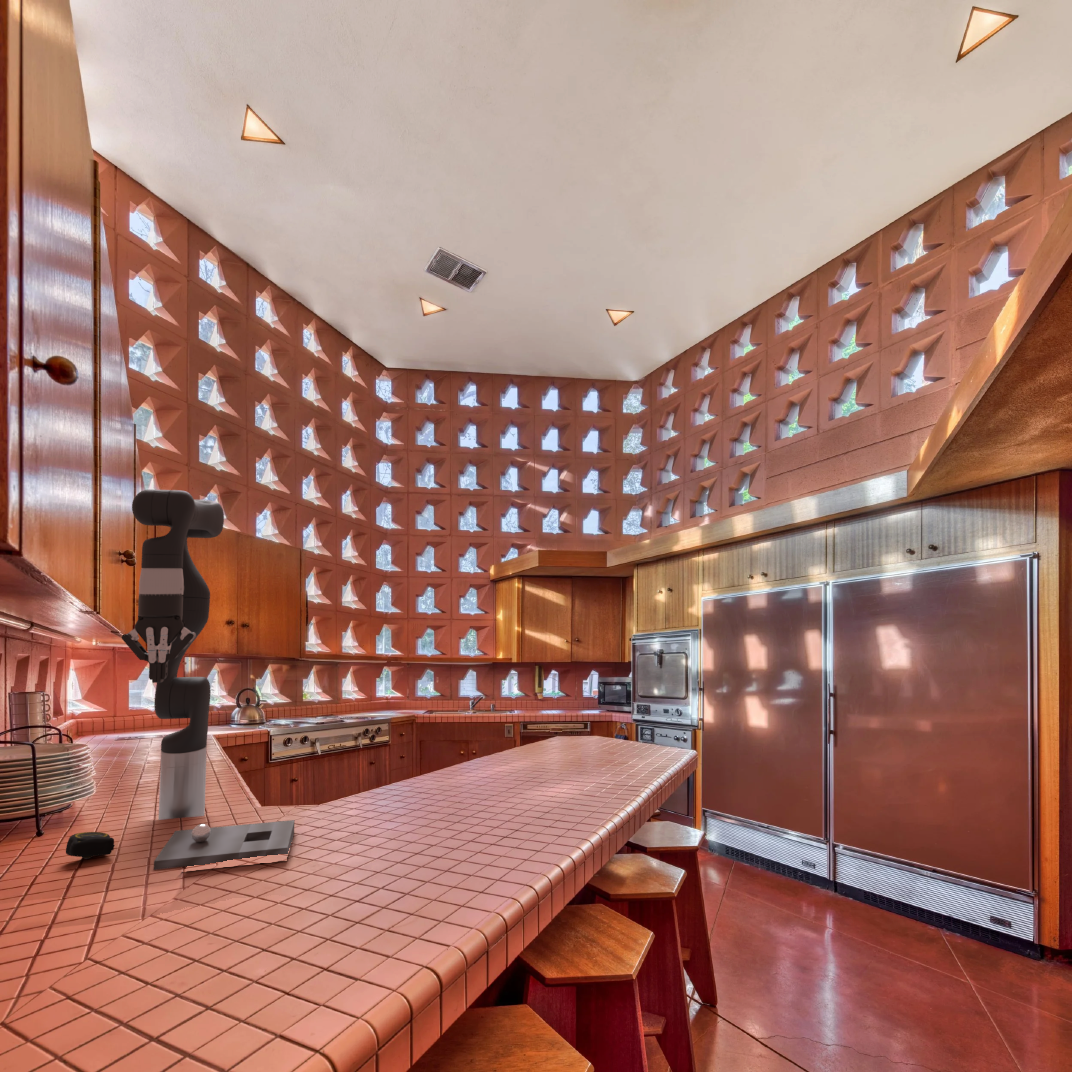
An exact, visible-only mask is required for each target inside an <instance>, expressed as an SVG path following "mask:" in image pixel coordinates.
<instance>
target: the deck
mask: <svg viewBox="0 0 1072 1072" xmlns="http://www.w3.org/2000/svg"><path fill="white" fill-rule="evenodd" d="M193 829H194V828H193ZM193 829H182V830H175V831H174V832H173V833H172V835H171V837H170V838H169V839H168V840H167V842H166V843H165V845H164V846H163V848H162V849H161V851H160V852H159V853H158V854H157V856H156V857H155V859H154V861H153V870H154V871H156V870H157V871H158V870H165V869H172V868H173V869H175V868H185V867H187V866H194V865H205V864H210V863H216V862H223V861H227V860H233V859H242V858H250V857H257V856H267V855H278V854H288V851H289V848H290V845H291V846H292V844H291V842H292V843H293V839H294V836H295V835H294V834H295V819H291V820H290V819H289V820H280V821H279V820H277V821H269V822H268V821H267V822H259V823H258V822H257V823H248V824H247V823H246V824H237V825H235V824H234V825H226V826H224V825H223V826H215V827H213V826H211V827H210V830H211V833H210V836H209V837H208V839H207V840H205V841H203V842H195V841H194V840H193V839H192V831H193ZM290 849H291V848H290Z"/></svg>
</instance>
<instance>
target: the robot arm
mask: <svg viewBox="0 0 1072 1072" xmlns="http://www.w3.org/2000/svg"><path fill="white" fill-rule="evenodd" d="M131 510H132V514H133V516H134V518H135V519H136V521H138V522H139V524H142V525H144V526H154V527H155V526H160V527H161V526H163V527H169V528H170V530H169V531H168V533H167V534H164V535H162V536H156V537H150V538H147V539H145V540H144V541H143V543H142V545H141V546H142V547H141V568H140V574H139V575H140V576H139V581H138V602H137V603H138V605H137V607H138V610H137V621H136V623H135V624H134V628H133V629H132V630H130V631H129V632H128V633H125V634H123V635H122V636H121V640H122V641H123V642H124V643H125V644H126V645H127V647H128V648H129V649H130V650H131V652H132V653H133V654H134V655H135V656H136V657H137V659H138V660H140V661H144V662H147V663H148V665H149V666H148V667H149V669H148V679H149V680H151V682H152V684H153V683H154V684H155V683H156V685H155V692H154V693H155V694H154V712H155V715H156V716H157V718H158V719H161V720H170V719H171V720H172V719H173V720H174V719H175V720H177V719H178V720H179V719H189V723H188V725H187V726H186V727H184V728H182V729H180V730H177V731H175V732H171V733H168V734H167V735H166V736H164V737H163V738H162V739H161V743H160V744H161V745H160V769H159V770H160V773H159V776H160V777H159V793H158V794H159V797H158V798H159V799H158V819H157V820H161V821H162V820H170V819H172V820H173V819H183V818H195V817H204V816H205V813H206V812H205V811H206V810H205V808H206V806H205V805H206V784H207V783H206V782H207V781H206V780H207V779H206V778H207V753H208V752H207V750H208V749H207V747H208V734H209V733H208V730H209V713H210V704H211V684H210V681H209V679H208V678H207V677H205V676H185V677H183V676H181V677H180V676H179V677H178V673H179V667H180V665H181V662H182V660H183V658H184V656H185V654H186V652H187V651H188V649H189V648H190V647H191V645H192V644H193V643H194V641H195V640H196V639H197V638H198V636H199V635H200V634H201V633H202V630H203V629H204V628H205V627H206V625H207V623H208V621H209V615H210V603H211V600H210V599H211V592H210V588H209V586H208V584H207V582H206V581H205V579H204V578H203V576H202V574H201V573H200V572H199V570H198V568H197V567H196V565H195V564H194V562H193V559H192V557H191V555H190V552H189V548H188V538H189V539H191V538H192V539H193V538H194V539H196V538H197V539H211V538H216V537H219V536H220V535H221V533H222V532H223V529H224V524H225V516H224V509H223V507H222V505H221V504H220V503H219V502H217V501H215V500H208V499H207V500H206V499H194V498H193V496H192V494H191V493H189V492H188V491H185V490H178V489H172V490H171V489H143V490H141V491H139V492H138V493H137V494H136V495H135V496H134V498H133V500H132V503H131ZM139 636H140V637H139ZM140 638H141V639H142V640H143V642H144V643H145V644H147V648H146V649H145V647H144V646H143V645H142V644H141V643H140V642H139V640H140Z"/></svg>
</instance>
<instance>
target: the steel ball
mask: <svg viewBox="0 0 1072 1072" xmlns="http://www.w3.org/2000/svg"><path fill="white" fill-rule="evenodd" d="M210 828H211V827H210V826H209V825H208V824H206V823H200V824H198V825H195V826H194V828H193V831H192V839H193V840H194V841H195V842H203V841H205V840H207V839H208V837H209V836H210V833H211V830H210Z"/></svg>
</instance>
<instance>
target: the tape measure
mask: <svg viewBox="0 0 1072 1072" xmlns="http://www.w3.org/2000/svg"><path fill="white" fill-rule="evenodd" d="M115 845H116V844H115V839H114V838H113V837H111V836H110V834H108V833H106V832H100V831H85V832H78V833H74V834H71V836H69V838H68V840H67V843H66V846H65V854H66V855H67V856H71V857H76V858H77V857H79V858H82V859H85V860H88V859H91V858H92V857H96V856H107V855H110V854H111V853H112V851H114V849H115Z"/></svg>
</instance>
